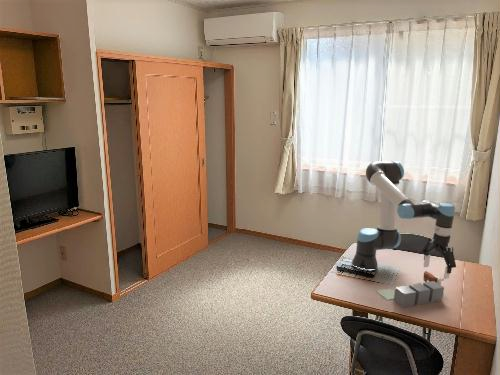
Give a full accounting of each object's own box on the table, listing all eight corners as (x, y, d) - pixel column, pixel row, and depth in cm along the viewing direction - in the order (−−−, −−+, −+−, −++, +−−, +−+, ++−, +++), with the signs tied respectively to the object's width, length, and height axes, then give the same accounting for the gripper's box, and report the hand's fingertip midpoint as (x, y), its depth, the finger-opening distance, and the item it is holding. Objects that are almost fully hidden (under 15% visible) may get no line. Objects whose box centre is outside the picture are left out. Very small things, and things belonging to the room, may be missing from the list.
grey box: (407, 297, 201) (409, 285, 199) (418, 296, 204) (420, 283, 202) (417, 304, 195) (419, 291, 193) (428, 302, 197) (430, 289, 195)
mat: (376, 291, 206) (376, 291, 206) (390, 289, 209) (390, 288, 209) (387, 300, 198) (387, 299, 198) (401, 297, 201) (401, 297, 201)
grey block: (393, 300, 198) (395, 287, 196) (404, 298, 201) (406, 285, 199) (402, 307, 192) (404, 294, 190) (414, 305, 194) (416, 292, 192)
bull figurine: (437, 293, 206) (439, 280, 204) (420, 282, 219) (422, 268, 217) (444, 293, 208) (446, 279, 206) (426, 281, 220) (428, 268, 218)
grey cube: (421, 295, 204) (423, 282, 202) (431, 293, 206) (433, 281, 205) (431, 302, 198) (433, 289, 196) (441, 300, 200) (444, 287, 198)
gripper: (418, 226, 203) (412, 262, 209) (456, 244, 181) (449, 284, 186) (429, 224, 206) (423, 261, 211) (468, 242, 183) (461, 282, 188)
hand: (435, 272), depth 199 cm, fingers open, 13 cm apart
